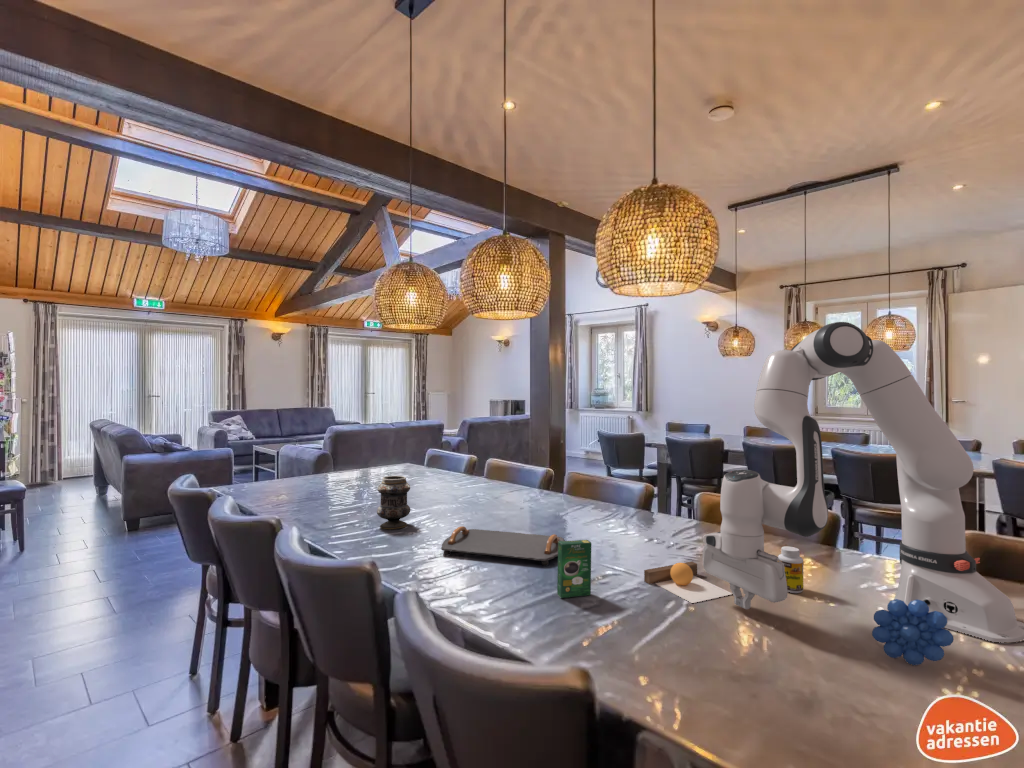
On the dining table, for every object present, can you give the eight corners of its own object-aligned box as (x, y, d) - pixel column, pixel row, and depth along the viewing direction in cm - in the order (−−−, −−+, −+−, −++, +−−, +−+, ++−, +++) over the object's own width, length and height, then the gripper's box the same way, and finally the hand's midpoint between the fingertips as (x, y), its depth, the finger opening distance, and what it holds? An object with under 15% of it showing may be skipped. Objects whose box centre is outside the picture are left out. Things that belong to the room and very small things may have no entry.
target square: (733, 594, 122) (733, 593, 122) (692, 603, 117) (692, 603, 117) (694, 576, 134) (694, 575, 134) (655, 584, 128) (655, 583, 128)
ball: (699, 570, 126) (684, 555, 130) (682, 575, 124) (668, 560, 128) (695, 587, 128) (680, 572, 132) (678, 592, 126) (664, 577, 130)
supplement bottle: (777, 591, 124) (777, 549, 124) (778, 583, 129) (777, 543, 129) (803, 595, 121) (803, 553, 121) (803, 587, 126) (803, 547, 126)
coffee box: (587, 591, 124) (587, 538, 124) (592, 595, 121) (591, 541, 122) (556, 594, 122) (556, 540, 122) (560, 599, 119) (560, 544, 120)
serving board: (431, 557, 152) (431, 536, 152) (462, 536, 174) (462, 518, 174) (556, 571, 140) (556, 548, 140) (572, 546, 162) (572, 527, 162)
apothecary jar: (417, 524, 186) (417, 476, 187) (393, 532, 176) (393, 481, 176) (393, 520, 193) (393, 473, 193) (369, 527, 183) (369, 478, 183)
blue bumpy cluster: (955, 666, 90) (954, 599, 90) (953, 683, 85) (952, 612, 85) (875, 644, 98) (875, 582, 98) (870, 658, 93) (869, 593, 93)
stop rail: (697, 574, 135) (697, 563, 135) (649, 584, 128) (649, 572, 128) (691, 572, 137) (691, 561, 137) (644, 581, 130) (644, 570, 130)
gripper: (794, 556, 103) (795, 623, 103) (717, 530, 122) (718, 587, 122) (772, 560, 101) (773, 629, 101) (697, 533, 120) (698, 592, 119)
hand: (742, 606), depth 111 cm, fingers closed
